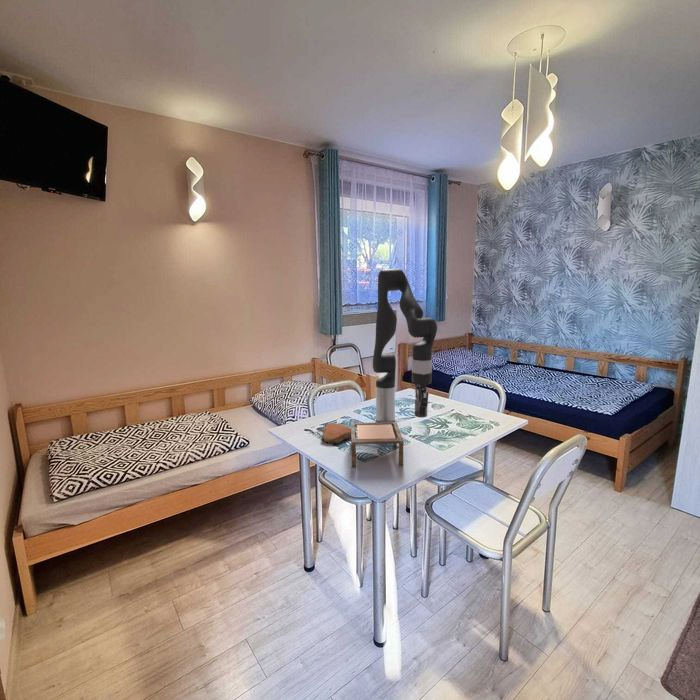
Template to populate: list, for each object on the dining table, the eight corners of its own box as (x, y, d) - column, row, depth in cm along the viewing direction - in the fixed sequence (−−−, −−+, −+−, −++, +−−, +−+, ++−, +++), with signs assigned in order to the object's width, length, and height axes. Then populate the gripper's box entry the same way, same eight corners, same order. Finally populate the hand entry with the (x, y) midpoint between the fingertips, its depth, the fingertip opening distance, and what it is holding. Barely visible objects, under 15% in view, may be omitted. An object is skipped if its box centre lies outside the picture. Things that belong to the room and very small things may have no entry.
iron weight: (413, 413, 151) (413, 398, 150) (425, 413, 151) (426, 398, 150) (415, 417, 147) (416, 402, 146) (428, 417, 147) (428, 402, 146)
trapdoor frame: (351, 445, 161) (350, 423, 159) (396, 444, 161) (396, 422, 159) (352, 467, 142) (351, 442, 140) (403, 466, 142) (403, 440, 141)
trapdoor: (356, 427, 157) (356, 424, 157) (391, 426, 157) (391, 423, 157) (358, 441, 143) (358, 439, 143) (395, 440, 143) (395, 438, 143)
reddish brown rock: (310, 426, 169) (334, 421, 181) (310, 441, 169) (334, 435, 181) (334, 430, 160) (357, 425, 171) (334, 445, 160) (357, 439, 171)
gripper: (408, 366, 153) (408, 407, 156) (415, 375, 139) (414, 420, 142) (427, 366, 153) (426, 406, 156) (436, 375, 139) (434, 419, 142)
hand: (421, 413), depth 149 cm, fingers closed on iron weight, 4 cm apart
